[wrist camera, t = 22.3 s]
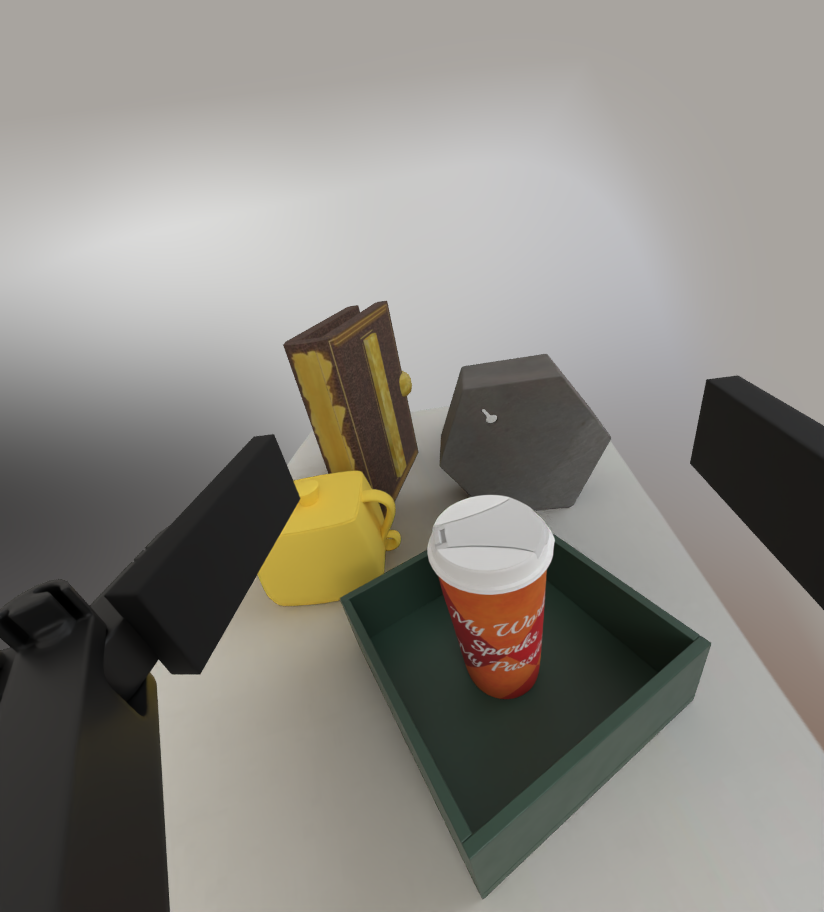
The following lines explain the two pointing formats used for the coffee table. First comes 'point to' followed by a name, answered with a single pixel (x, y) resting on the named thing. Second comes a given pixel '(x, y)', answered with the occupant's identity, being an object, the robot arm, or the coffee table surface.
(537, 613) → the coffee cup
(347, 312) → the book
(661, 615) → the bin
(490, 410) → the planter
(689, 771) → the coffee table surface
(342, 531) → the teapot
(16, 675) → the robot arm
